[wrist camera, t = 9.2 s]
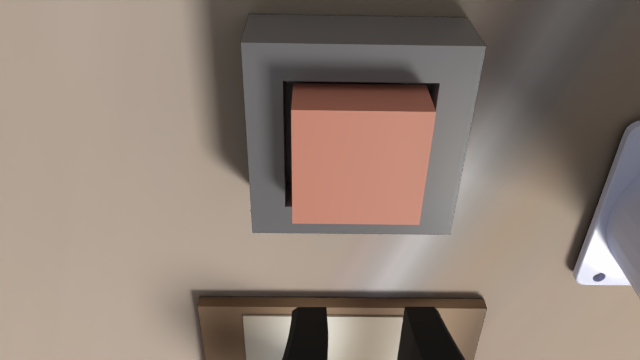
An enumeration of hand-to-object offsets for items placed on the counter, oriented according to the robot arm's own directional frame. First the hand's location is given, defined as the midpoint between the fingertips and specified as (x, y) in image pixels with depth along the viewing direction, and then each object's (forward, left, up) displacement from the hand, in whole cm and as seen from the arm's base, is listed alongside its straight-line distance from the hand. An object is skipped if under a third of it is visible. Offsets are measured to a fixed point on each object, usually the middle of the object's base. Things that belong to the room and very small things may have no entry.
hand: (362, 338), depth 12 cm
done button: (0, 0, -8) cm, 8 cm away
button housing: (0, 0, -10) cm, 10 cm away
